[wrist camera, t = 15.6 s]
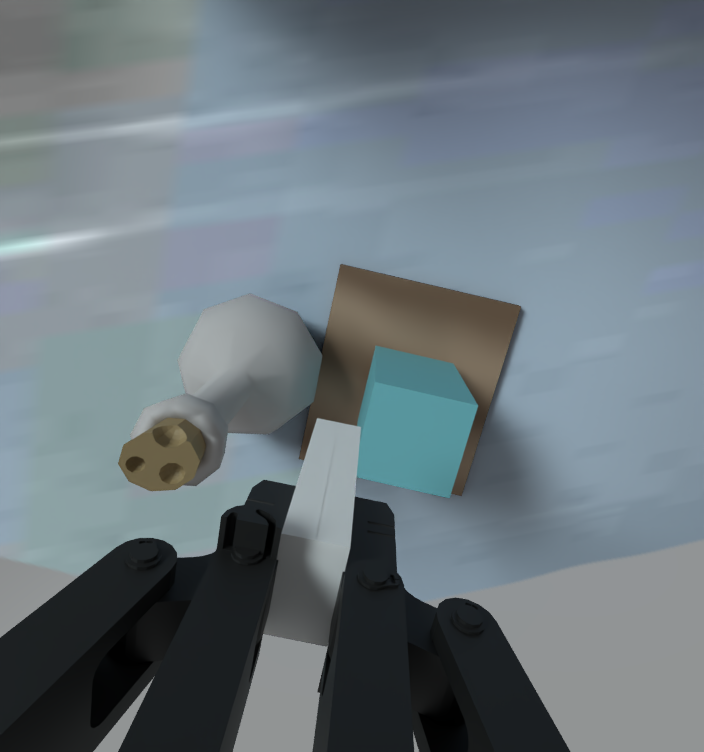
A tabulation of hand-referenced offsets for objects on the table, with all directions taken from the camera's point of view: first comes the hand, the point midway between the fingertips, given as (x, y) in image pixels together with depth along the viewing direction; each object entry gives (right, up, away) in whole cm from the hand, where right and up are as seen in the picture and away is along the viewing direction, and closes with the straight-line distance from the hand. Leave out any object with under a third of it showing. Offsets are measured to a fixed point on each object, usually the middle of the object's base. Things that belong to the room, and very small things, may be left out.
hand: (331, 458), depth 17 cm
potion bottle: (-5, +4, +18) cm, 20 cm away
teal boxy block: (+4, +2, +17) cm, 17 cm away
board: (+4, +2, +18) cm, 19 cm away
